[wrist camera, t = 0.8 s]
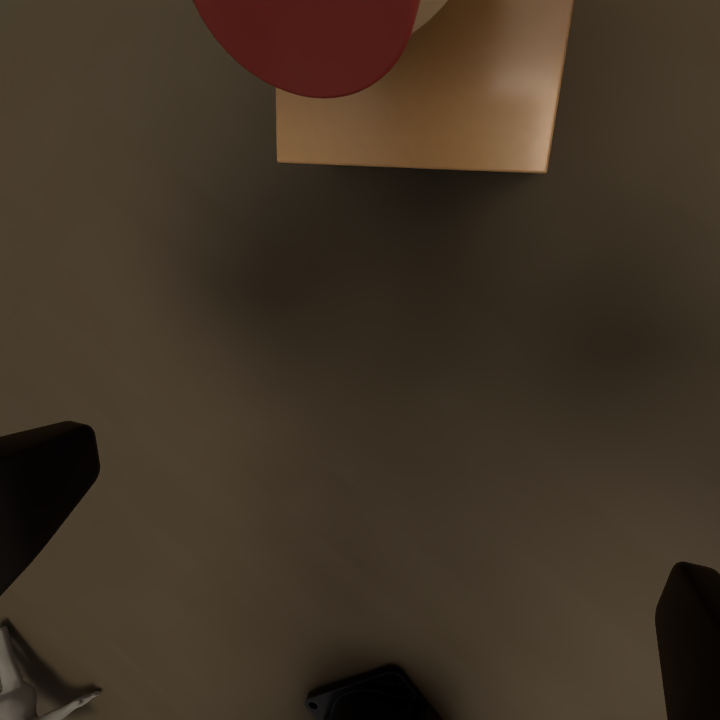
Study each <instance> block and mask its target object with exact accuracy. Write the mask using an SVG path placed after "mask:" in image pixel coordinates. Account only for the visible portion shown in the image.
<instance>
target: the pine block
mask: <svg viewBox="0 0 720 720" xmlns="http://www.w3.org/2000/svg"><path fill="white" fill-rule="evenodd" d="M573 4H574V0H448V1H447V2H446V3H445V4H444V6H443V7H442V8H441V9H440V10H439V11H438V12H437V13H436V14H435V15H434V16H433V17H432V18H431V19H430V20H429V21H428V22H427V23H425V24H424V25H423V26H421V27H420V28H419V29H417V30H416V31H415V32H414V33H412V34H411V36H410V39H409V41H408V44H407V46H406V48H405V50H404V52H403V53H402V55H401V57H400V59H399V60H398V61H397V63H396V64H395V65H394V66H393V68H392V69H391V70H390V71H389V72H388V73H387V74H386V75H385V76H384V77H382V78H381V79H380V80H379V81H377V82H376V83H374V84H373V85H371V86H370V87H368V88H366V89H364V90H362V91H360V92H358V93H355V94H352V95H349V96H344V97H338V98H326V99H322V98H310V97H305V96H299V95H296V94H292V93H289V92H286V91H284V90H281V89H279V88H276V134H277V162H279V163H297V164H322V165H346V166H371V167H395V168H420V169H444V170H469V171H494V172H518V173H543V174H544V173H546V172H547V170H548V163H549V157H550V151H551V144H552V138H553V131H554V125H555V119H556V112H557V106H558V100H559V93H560V87H561V81H562V74H563V68H564V62H565V55H566V49H567V42H568V36H569V30H570V23H571V17H572V11H573Z"/></svg>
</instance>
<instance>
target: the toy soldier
mask: <svg viewBox="0 0 720 720" xmlns="http://www.w3.org/2000/svg"><path fill="white" fill-rule="evenodd" d="M447 1H448V0H193V2H194V4H195V6H196V8H197V10H198V12H199V14H200V16H201V17H202V19H203V21H204V22H205V24H206V26H207V27H208V29H209V30H210V31H211V33H212V34H213V36H214V37H215V38H216V40H217V41H218V42H219V43H220V44H221V46H222V47H223V48H224V49H225V50H226V51H227V52H228V53H229V54H230V55H231V56H232V57H233V58H234V59H235V60H236V61H237V62H238V63H239V64H240V65H242V66H243V67H244V68H245V69H247V70H248V71H249V72H251V73H252V74H254V75H255V76H257V77H258V78H260V79H261V80H263V81H265V82H267V83H268V84H270V85H272V86H274V87H276V88H279V89H281V90H284V91H286V92H289V93H292V94H296V95H299V96H305V97H310V98H322V99H326V98H338V97H344V96H349V95H352V94H355V93H358V92H360V91H362V90H364V89H366V88H368V87H370V86H371V85H373V84H374V83H376V82H377V81H379V80H380V79H381V78H382V77H384V76H385V75H386V74H387V73H388V72H389V71H390V70H391V69H392V68H393V66H394V65H395V64H396V63H397V61H398V60H399V59H400V57H401V55H402V53H403V52H404V50H405V48H406V46H407V44H408V41H409V39H410V36H411V34H412V33H414V32H415V31H416V30H417V29H419V28H420V27H421V26H423V25H424V24H425V23H427V22H428V21H429V20H430V19H431V18H432V17H433V16H434V15H435V14H436V13H437V12H438V11H439V10H440V9H441V8H442V7H443V6H444V4H445V3H446V2H447Z"/></svg>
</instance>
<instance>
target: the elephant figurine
mask: <svg viewBox="0 0 720 720" xmlns="http://www.w3.org/2000/svg"><path fill="white" fill-rule="evenodd" d="M0 679H1V682H2V686H3V690H0V720H63V719H64V718H65V717H66V716H67V715H68V714H69V713H71V712H72V711H73V710H75V709H76V708H78V707H81V706H83V705H85V704H86V703H88V702H89V701H90V700H91V699H92V698H94V697H96V696H98V695H99V691H95V692H93V693H91V694H86V695H83V696H81V697H79V698H77V699H75V700H73V701H72V702H71V703H69V704H67V705H65V706H63V707H60V708H57V709H55V710H52V711H50V712H48V713H46V714H45V715H43V716H41V717H38V715H37V713H36V702H37V695H36V690H35V688H34V687H33V686H32V685H30V684H28V683H27V682H25V681H24V680H23V674H21V671H20V669H19V667H18V664H17V662H16V659H15V656H14V653H13V649H12V645H11V640H10V635H9V631H8V627H7V626H3V627H0Z"/></svg>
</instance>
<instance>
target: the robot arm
mask: <svg viewBox="0 0 720 720" xmlns="http://www.w3.org/2000/svg"><path fill="white" fill-rule="evenodd" d="M99 471H100V462H99V456H98V449H97V443H96V437H95V432H94V430H93V429H92V427H90V426H89V425H86V424H81V423H77V422H72V421H64V422H60V423H56V424H52V425H47V426H43V427H39V428H35V429H31V430H27V431H22V432H18V433H14V434H10V435H6V436H2V437H0V596H1V595H2V594H3V593H4V592H5V590H6V589H7V588H8V587H9V586H10V585H11V584H12V583H13V582H14V581H15V580H16V579H17V577H18V576H19V575H20V574H21V573H22V572H23V571H24V570H25V569H26V568H27V567H28V565H29V564H30V563H31V562H32V561H33V560H34V559H35V557H36V556H37V555H38V554H39V553H40V552H41V550H42V549H43V548H44V547H45V545H46V544H47V543H48V542H49V540H50V539H51V538H52V536H53V535H54V534H55V533H56V531H57V530H58V529H59V527H60V526H61V525H62V524H63V522H64V521H65V520H66V518H67V517H68V516H69V515H70V513H71V512H72V511H73V509H74V508H75V507H76V506H77V504H78V503H79V502H80V500H81V499H82V498H83V496H84V495H85V494H86V493H87V491H88V490H89V489H90V487H91V486H92V485H93V484H94V482H95V481H96V479H97V477H98V475H99ZM655 626H656V634H657V641H658V649H659V657H660V665H661V672H662V680H663V688H664V696H665V703H666V711H667V719H668V720H720V574H719V573H718V572H717V571H716V570H714V569H712V568H709V567H705V566H701V565H696V564H692V563H688V562H678V563H676V564H675V565H674V566H673V568H672V570H671V572H670V575H669V577H668V580H667V582H666V585H665V587H664V590H663V592H662V594H661V597H660V599H659V602H658V604H657V608H656V614H655ZM305 706H306V708H307V709H308V710H309V711H310V712H311V714H312V715H313V716H314V717H315V718H316V719H317V720H443V719H442V718H441V717H440V716H439V714H438V713H437V712H436V711H435V709H434V708H433V707H432V706H431V704H430V703H429V702H428V701H427V699H426V698H425V697H424V696H423V694H422V693H421V692H420V691H419V689H418V688H417V687H416V686H415V684H414V683H413V682H412V681H411V679H410V678H409V677H408V676H407V674H406V673H405V672H404V671H403V670H402V669H401V668H399V667H397V666H389V667H385V668H382V669H379V670H376V671H373V672H370V673H367V674H364V675H361V676H358V677H355V678H352V679H349V680H346V681H343V682H340V683H337V684H334V685H330V686H327V687H324V688H321V689H318V690H315V691H312V692H310V693H308V695H307V697H306V700H305Z"/></svg>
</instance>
